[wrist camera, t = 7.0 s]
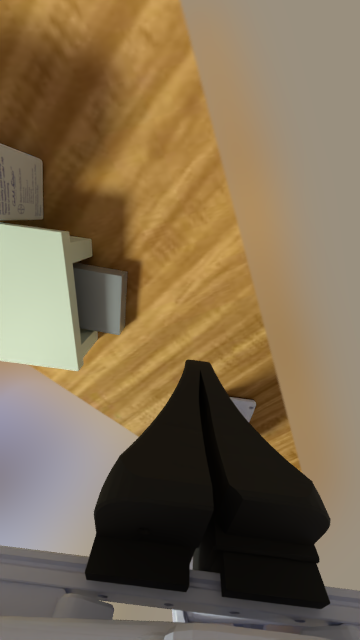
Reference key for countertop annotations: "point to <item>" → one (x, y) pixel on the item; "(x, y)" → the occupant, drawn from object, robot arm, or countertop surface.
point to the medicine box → (20, 185)
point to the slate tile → (100, 298)
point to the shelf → (41, 297)
